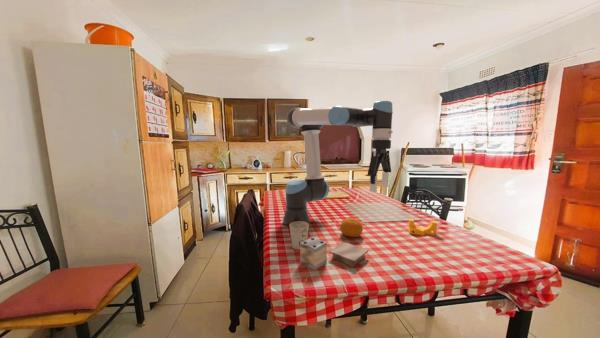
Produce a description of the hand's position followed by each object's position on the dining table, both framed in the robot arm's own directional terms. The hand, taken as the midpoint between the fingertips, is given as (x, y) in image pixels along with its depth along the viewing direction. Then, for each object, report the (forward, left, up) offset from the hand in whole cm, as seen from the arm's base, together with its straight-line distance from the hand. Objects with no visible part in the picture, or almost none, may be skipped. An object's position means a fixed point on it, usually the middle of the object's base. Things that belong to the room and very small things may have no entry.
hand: (379, 189), depth 97 cm
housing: (-11, -31, -25) cm, 41 cm away
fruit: (-13, +1, -25) cm, 29 cm away
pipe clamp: (+12, +26, -25) cm, 38 cm away
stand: (-3, -19, -25) cm, 32 cm away
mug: (-26, -24, -25) cm, 44 cm away
